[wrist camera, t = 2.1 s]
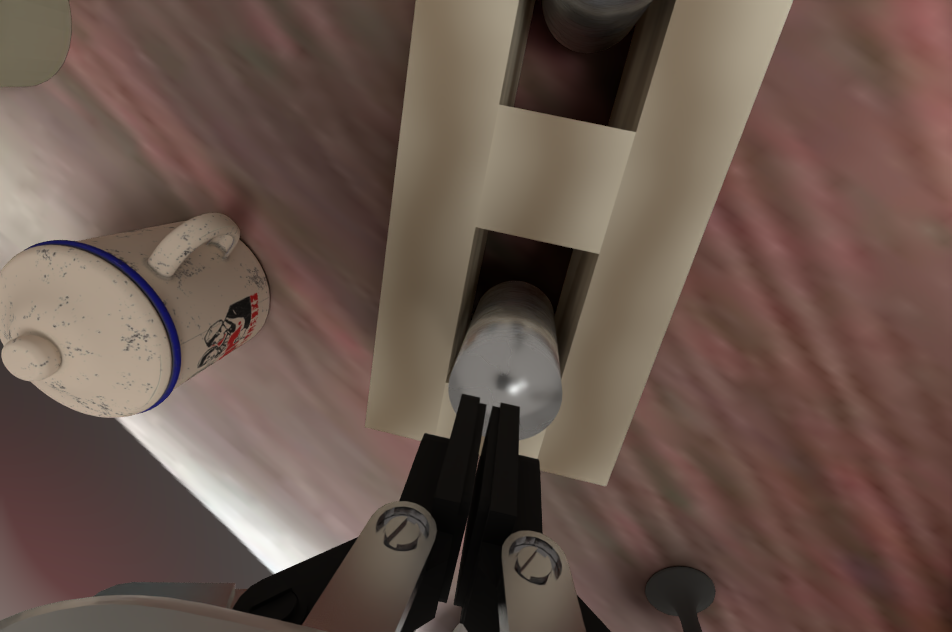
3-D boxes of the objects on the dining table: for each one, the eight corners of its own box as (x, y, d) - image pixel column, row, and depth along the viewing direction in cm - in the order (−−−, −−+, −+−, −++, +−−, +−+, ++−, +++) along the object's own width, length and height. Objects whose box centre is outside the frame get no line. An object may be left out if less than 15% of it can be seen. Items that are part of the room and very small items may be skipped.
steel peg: (563, 290, 22) (575, 356, 15) (543, 361, 23) (546, 452, 16) (484, 272, 22) (459, 329, 15) (468, 344, 23) (440, 426, 16)
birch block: (757, -108, 19) (899, -277, 12) (587, 399, 28) (605, 486, 21) (486, -155, 20) (456, -342, 12) (408, 357, 29) (364, 427, 22)
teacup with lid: (228, 371, 31) (65, 486, 21) (123, 279, 30) (-112, 351, 19) (330, 261, 28) (196, 332, 17) (216, 149, 26) (-14, 146, 15)
